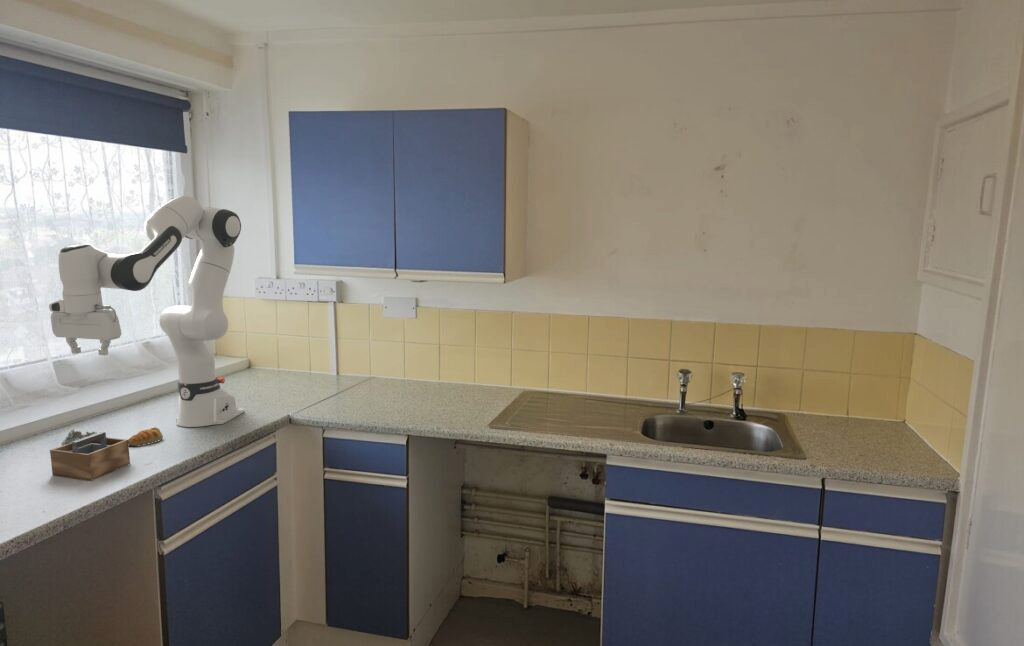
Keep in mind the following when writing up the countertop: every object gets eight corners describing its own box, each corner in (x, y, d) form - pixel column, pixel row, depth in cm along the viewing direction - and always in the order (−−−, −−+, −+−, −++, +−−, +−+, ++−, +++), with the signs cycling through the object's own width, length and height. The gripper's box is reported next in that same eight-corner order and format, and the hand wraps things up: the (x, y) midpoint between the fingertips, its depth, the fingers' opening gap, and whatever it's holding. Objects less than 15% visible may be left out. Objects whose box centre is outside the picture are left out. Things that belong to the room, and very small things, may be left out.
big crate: (94, 459, 188) (92, 435, 187) (130, 464, 185) (128, 439, 184) (52, 475, 176) (49, 450, 175) (90, 480, 173) (87, 454, 172)
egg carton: (73, 441, 204) (72, 428, 204) (100, 439, 206) (99, 427, 205) (58, 453, 194) (57, 439, 193) (87, 451, 196) (86, 437, 195)
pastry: (136, 449, 198) (135, 436, 197) (122, 445, 201) (121, 433, 200) (165, 440, 206) (164, 428, 205) (151, 436, 209) (150, 425, 208)
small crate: (93, 460, 186) (90, 430, 185) (119, 463, 183) (116, 433, 182) (63, 471, 177) (60, 440, 176) (90, 475, 175) (87, 443, 174)
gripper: (123, 303, 181) (130, 353, 183) (64, 301, 186) (71, 349, 189) (104, 307, 175) (110, 358, 177) (43, 304, 180) (50, 354, 183)
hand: (90, 354), depth 183 cm, fingers open, 8 cm apart
